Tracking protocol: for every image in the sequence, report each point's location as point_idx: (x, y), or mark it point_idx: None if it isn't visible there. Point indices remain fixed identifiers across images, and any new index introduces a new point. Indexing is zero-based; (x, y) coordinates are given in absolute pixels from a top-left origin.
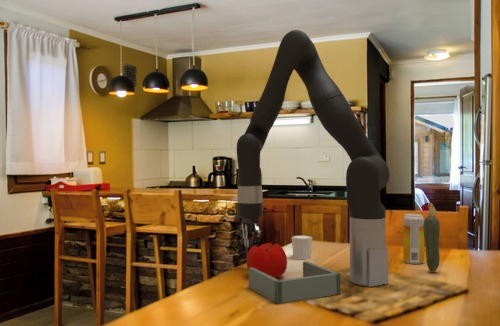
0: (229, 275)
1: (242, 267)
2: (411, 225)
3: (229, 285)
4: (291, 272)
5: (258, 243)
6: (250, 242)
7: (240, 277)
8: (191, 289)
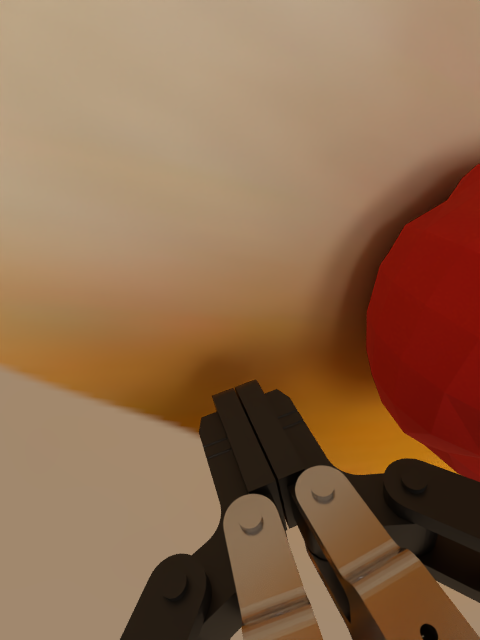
0: (326, 451)
1: (148, 404)
2: None
3: None
4: (429, 20)
5: (452, 477)
6: (426, 557)
7: None
8: None
